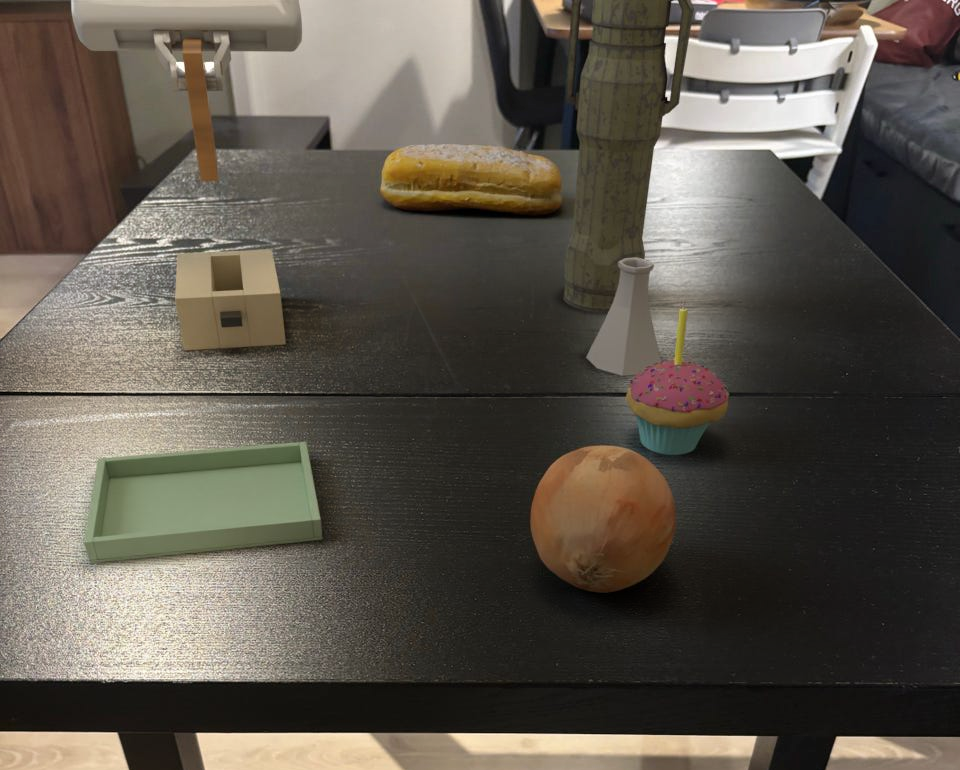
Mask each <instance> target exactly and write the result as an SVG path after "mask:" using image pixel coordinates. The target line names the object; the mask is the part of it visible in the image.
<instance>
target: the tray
mask: <svg viewBox="0 0 960 770" xmlns="http://www.w3.org/2000/svg"><path fill="white" fill-rule="evenodd" d="M323 539H324V538H323V528H322V518H321V513H320V508H319V503H318V497H317V493H316V486H315V481H314V477H313V471H312V464H311V459H310V454H309V449H308V444H307V441H296V442H282V443H281V442H280V443H271V444H269V443H268V444H260V445H258V444H257V445H249V446H248V445H245V446H235V447H234V446H233V447H222V448H210V449H198V450H197V449H196V450H185V451H172V452H162V453H149V454H137V455H136V454H135V455H126V456H125V455H123V456H112V457H101V458H98V459H97V464H96V470H95V476H94V481H93V486H92V493H91V498H90V505H89V510H88V516H87V522H86V528H85V535H84V540H83V546H84V549H85V552H86V555H87V560H88V563H89V564H96V563H106V562H114V561H115V562H116V561H117V562H118V561H126V560H135V559H145V558H154V557H164V556H174V555H184V554H194V553H195V554H196V553H203V552H205V553H206V552H215V551H225V550H233V549H243V548H253V547H263V546H273V545H281V544H282V545H283V544H291V543H292V544H293V543H302V542H312V541H322V540H323Z"/></svg>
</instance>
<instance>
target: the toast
mask: <svg viewBox="0 0 960 770" xmlns="http://www.w3.org/2000/svg"><path fill="white" fill-rule="evenodd" d="M181 52H182V53H181V55H182V62H183V63H184V69H185V76H186V83H187V90H188V91H187V96H188V97H187V98H188V104H189V110H190V111H189V112H190V117H191V118H190V119H191V124H192V131H193V138H194V145H195V152H196V160H197V165H198V167H197V168H198V174H199V179H200V182H217V181H219V168H218V167H219V166H218V155H217V148H216V140H215V132H214V125H213V117H212V110H211V104H210V103H211V102H210V96H209V91H208V90H207V83H206V75H205V67H204V62H205V58H204V51H203V49H202V41H201V38H183V50H182V51H181Z"/></svg>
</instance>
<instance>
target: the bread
mask: <svg viewBox="0 0 960 770" xmlns="http://www.w3.org/2000/svg"><path fill="white" fill-rule="evenodd" d="M562 184H563V180H562V175H561V171H560V169H559V168H558V166H557V165H556V164H555V163H554V162H553V161H552V160H550V159H548V158H547V157H545V156H542V155H537V154H536V155H535V154H530V153H526V152H524V151H522V150H519V151H518V150H514V149H510V148H508V147H507V148H505V147H504V146H499V145H496V146H493V145H487V144H486V145H478V144H466V145H464V144H458V143H453V144H452V143H451V144H450V143H441V144H438V143H430V144H409V145H407V146H403V147H400V148H397V149H395V150H394V151H392V152H391V153H390V154H389V155H388V156H387V157H386V159H385V161H384V164H383V167H382V170H381V183H380V188H379V190H380V192H379V193H380V194H381V196H382V198H383V199H384V200H385V201H386V202H387V203H388V204H389V205H391V206H392V207H394V208H397V209H399V210H404V211H408V212H444V211H456V210H460V209H461V210H462V209H464V210H465V209H467V210H468V209H469V210H470V209H476V210H482V211H489V212H497V213H498V212H499V213H507V214H514V216H517V215H518V216H519V215H520V216H544V215H549V214H553V213H555V212H556V211H557V210H558V209H559V208H560V207H561V205H562V202H563V197H562V193H561V192H562Z"/></svg>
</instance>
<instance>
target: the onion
mask: <svg viewBox="0 0 960 770" xmlns="http://www.w3.org/2000/svg"><path fill="white" fill-rule="evenodd" d="M676 516H677V515H676V505H675V500H674V495H673V493H672V490H671V488H670V486H669V483H668V481H667V479H665V476H664V475H663V474H662V473H661V472H660V470H659V469H658V468H657V467H656V466H655V465H654V464H653V463H652V462H651V461H650V460H648V459H647V458H646V457H645V456H643V455H641V454H639V453H638V452H636V451H634V450H631V449H629V448H626V447H623V446H622V447H621V446H616V445H606V444H605V445H589V446H584V447H581V448H578V449H575V450H572V451H570V452H568V453H565V454H562V456H560V457H559V458H557V459H556V460H555V461H554V462H553V463H552V464H550V466H549V467H548V468H547V470H546V471H545V473H544V475H543V476H542V477H541V479H540V480H539V482H538V484H537V487H536V489H535V492H534V496H533V499H532V502H531V507H530V520H529V522H530V531H531V536H532V540H533V543H534V545H535V548H536V551H537V553H538V555H539V558H540V561H542V563H543V564H544V565H545V567H546V568H547V569H548V570H549V571H551V572H552V573H553V574H554V575H555V576H557V577H558V578H559V579H561V580H563V581H564V582H566V583H568V584H570V585H571V586H573V587H575V588H577V589H580V590H584V591H588V592H590V593H591V592H592V593H602V594H603V593H604V594H605V593H606V594H607V593H608V594H609V593H614V592H618V591H621V590H624V589H627V588H630V587H632V586H634V585H636V584H638V583H640V582H641V581H643V580H645V579H647V578H648V577H650V575H652V574H653V573H654V572H655V571H656V570H657V569H658V567H660V566H661V565H662V563H663V561H665V559H666V556H667V555H668V553H669V551H670V547H671V544H672V541H673V539H674V535H675V532H676V526H677V519H676V518H677V517H676Z"/></svg>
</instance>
